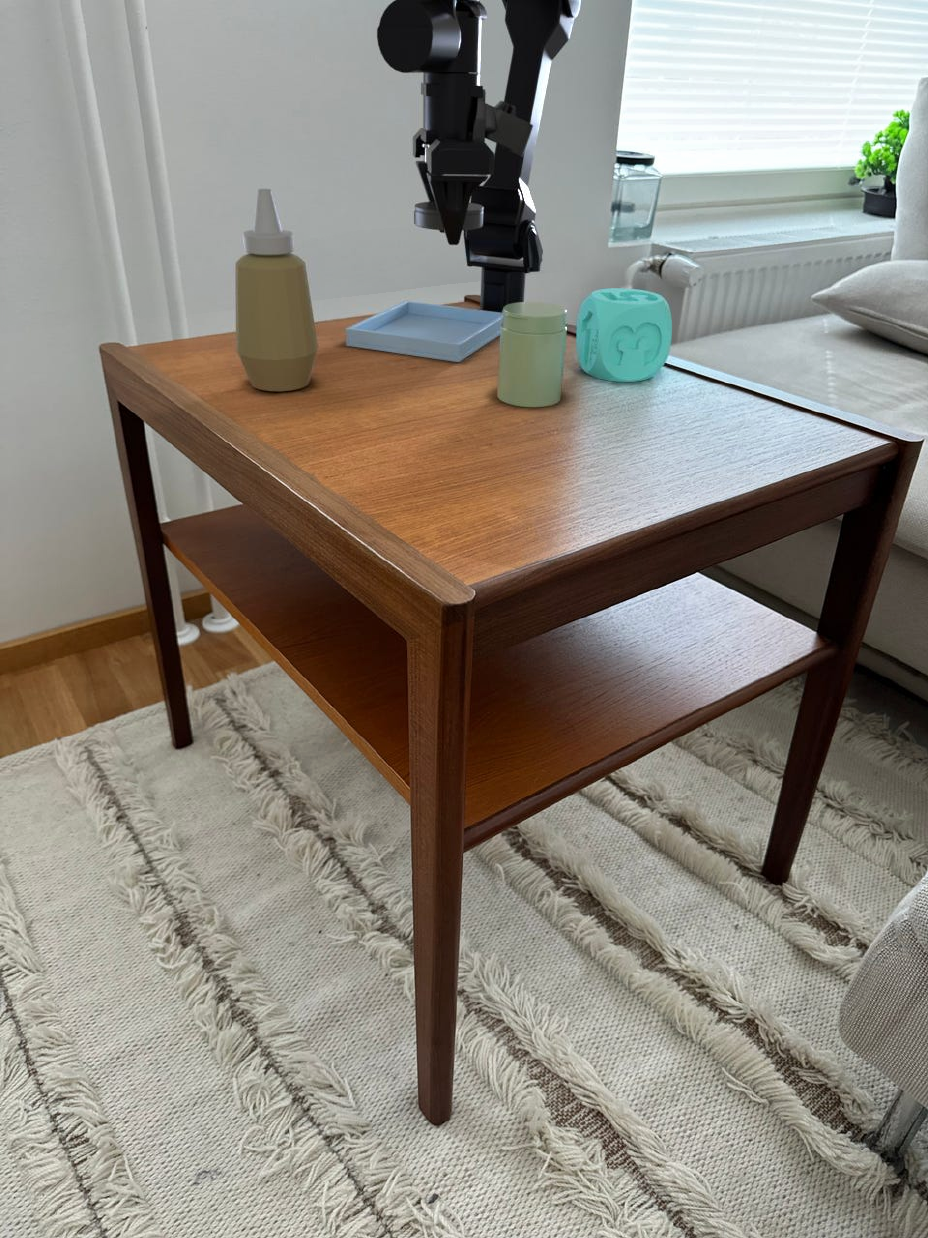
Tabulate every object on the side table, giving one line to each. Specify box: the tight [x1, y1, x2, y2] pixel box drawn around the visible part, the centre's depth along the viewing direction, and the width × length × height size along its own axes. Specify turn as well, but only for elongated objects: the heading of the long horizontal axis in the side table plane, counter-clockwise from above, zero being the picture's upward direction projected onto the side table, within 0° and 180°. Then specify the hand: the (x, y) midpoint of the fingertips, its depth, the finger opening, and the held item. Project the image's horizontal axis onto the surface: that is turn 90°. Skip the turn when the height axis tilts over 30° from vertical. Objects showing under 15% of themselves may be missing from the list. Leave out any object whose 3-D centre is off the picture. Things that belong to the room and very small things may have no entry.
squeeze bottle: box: [234, 188, 319, 392], centre depth 86 cm, size 8×8×18 cm
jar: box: [496, 301, 568, 408], centre depth 88 cm, size 6×6×9 cm
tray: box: [345, 300, 503, 363], centre depth 107 cm, size 16×14×2 cm
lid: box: [413, 201, 483, 231], centre depth 97 cm, size 8×8×2 cm
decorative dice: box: [575, 287, 673, 383], centre depth 96 cm, size 8×8×8 cm
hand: (448, 238), depth 98 cm, fingers closed on lid, 7 cm apart
